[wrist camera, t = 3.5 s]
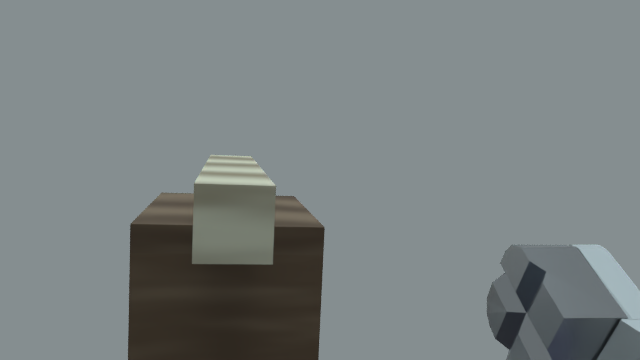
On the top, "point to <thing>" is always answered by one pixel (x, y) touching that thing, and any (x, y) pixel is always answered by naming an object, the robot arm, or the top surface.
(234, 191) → the birch bar
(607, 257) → the robot arm
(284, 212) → the walnut block
